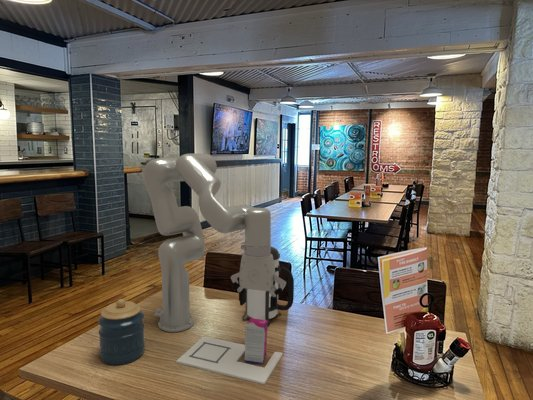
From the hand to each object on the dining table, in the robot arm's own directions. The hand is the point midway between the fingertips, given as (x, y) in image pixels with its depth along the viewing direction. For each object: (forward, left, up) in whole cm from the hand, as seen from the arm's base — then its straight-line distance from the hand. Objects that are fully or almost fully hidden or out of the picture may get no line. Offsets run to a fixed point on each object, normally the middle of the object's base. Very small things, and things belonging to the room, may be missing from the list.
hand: (257, 306), depth 111 cm
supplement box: (-1, 0, -17) cm, 17 cm away
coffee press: (-8, +27, -17) cm, 33 cm away
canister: (-40, -13, -17) cm, 45 cm away
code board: (-8, -3, -17) cm, 19 cm away
